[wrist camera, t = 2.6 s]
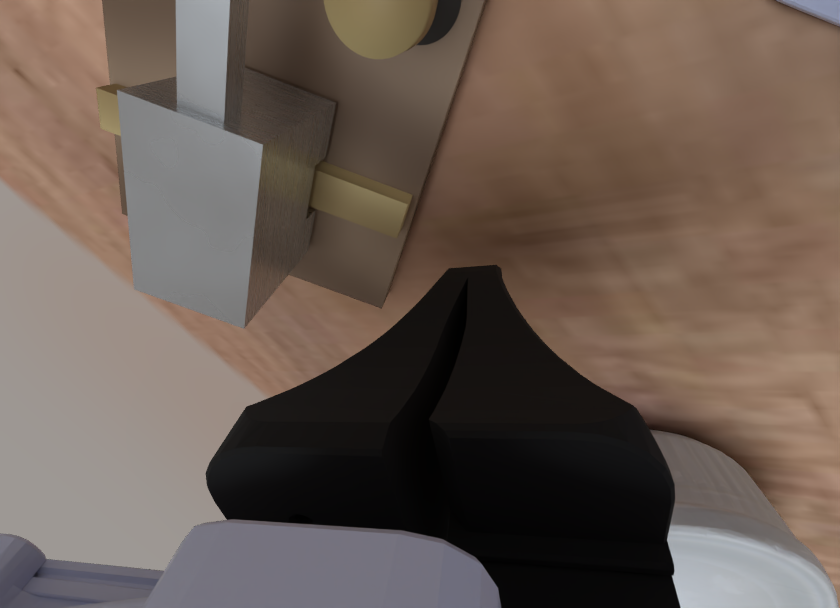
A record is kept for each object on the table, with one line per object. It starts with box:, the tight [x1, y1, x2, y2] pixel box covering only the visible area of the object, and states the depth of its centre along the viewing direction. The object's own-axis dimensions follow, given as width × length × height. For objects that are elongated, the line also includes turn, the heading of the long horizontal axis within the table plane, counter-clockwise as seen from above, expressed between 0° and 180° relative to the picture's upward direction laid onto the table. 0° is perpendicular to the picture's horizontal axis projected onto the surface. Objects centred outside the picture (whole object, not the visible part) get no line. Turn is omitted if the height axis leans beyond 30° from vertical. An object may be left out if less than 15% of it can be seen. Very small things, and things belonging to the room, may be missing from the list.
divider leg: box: [117, 0, 336, 328], centre depth 11 cm, size 8×3×4 cm, turn 163°
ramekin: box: [650, 430, 839, 608], centre depth 19 cm, size 11×11×5 cm
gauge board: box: [96, 0, 486, 308], centre depth 11 cm, size 13×10×6 cm
